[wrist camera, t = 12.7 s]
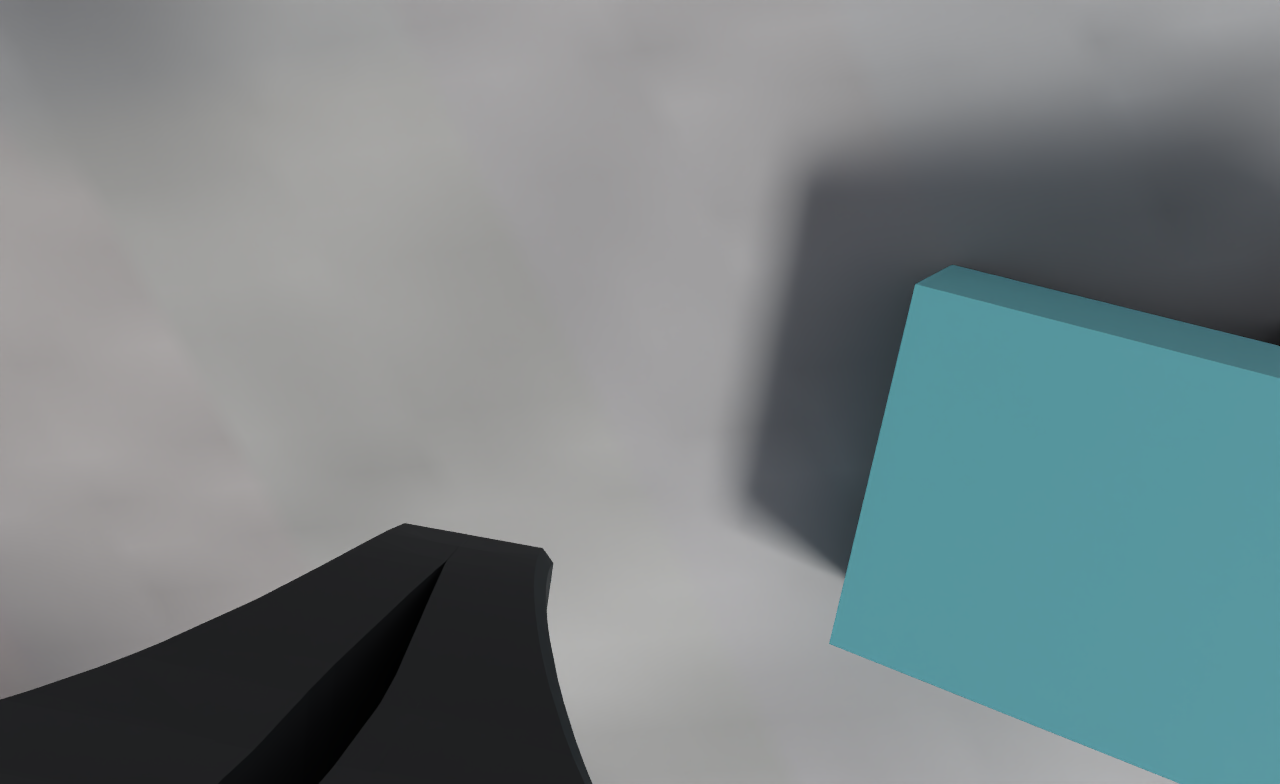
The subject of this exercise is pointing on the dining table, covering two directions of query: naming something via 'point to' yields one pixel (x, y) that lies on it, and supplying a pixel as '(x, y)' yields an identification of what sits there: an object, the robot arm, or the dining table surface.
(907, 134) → the dining table surface
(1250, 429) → the teal domino
